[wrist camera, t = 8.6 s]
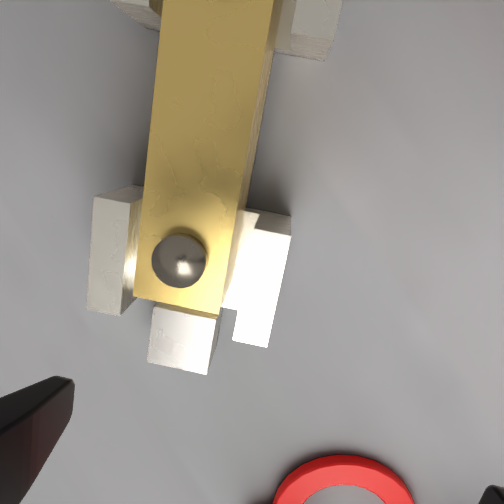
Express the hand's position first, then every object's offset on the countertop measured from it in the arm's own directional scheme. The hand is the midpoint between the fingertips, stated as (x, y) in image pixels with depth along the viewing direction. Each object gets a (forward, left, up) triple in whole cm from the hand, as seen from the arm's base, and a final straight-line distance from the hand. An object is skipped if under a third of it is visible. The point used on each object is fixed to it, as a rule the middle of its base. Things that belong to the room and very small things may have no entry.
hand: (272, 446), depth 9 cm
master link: (+4, -6, -11) cm, 13 cm away
